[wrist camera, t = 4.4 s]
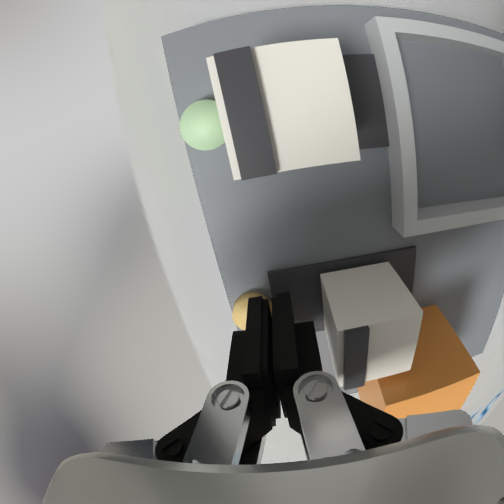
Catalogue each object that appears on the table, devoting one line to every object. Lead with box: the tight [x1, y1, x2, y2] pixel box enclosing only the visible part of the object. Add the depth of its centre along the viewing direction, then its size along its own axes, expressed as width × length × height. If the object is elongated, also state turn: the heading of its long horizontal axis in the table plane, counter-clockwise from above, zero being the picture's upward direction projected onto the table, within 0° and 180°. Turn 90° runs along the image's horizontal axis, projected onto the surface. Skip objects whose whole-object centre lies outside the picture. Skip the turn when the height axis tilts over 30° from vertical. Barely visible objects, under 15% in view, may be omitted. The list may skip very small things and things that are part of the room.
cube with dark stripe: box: [320, 262, 423, 390], centre depth 10 cm, size 3×3×4 cm
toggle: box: [206, 38, 360, 180], centre depth 7 cm, size 3×3×4 cm
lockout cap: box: [357, 304, 480, 419], centre depth 12 cm, size 4×4×5 cm
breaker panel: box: [161, 5, 504, 405], centre depth 12 cm, size 20×16×3 cm
